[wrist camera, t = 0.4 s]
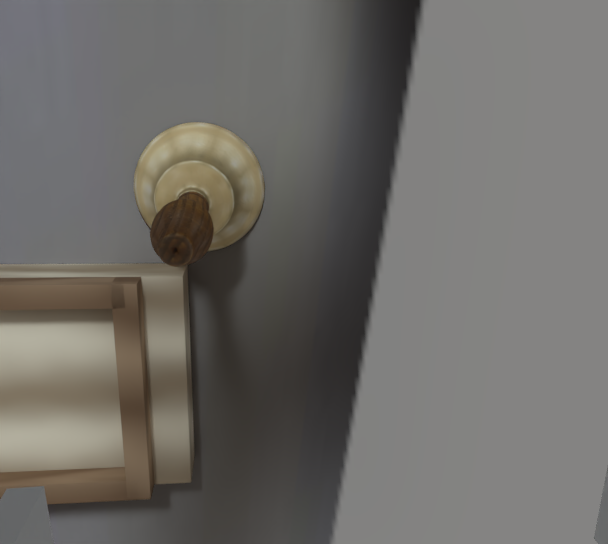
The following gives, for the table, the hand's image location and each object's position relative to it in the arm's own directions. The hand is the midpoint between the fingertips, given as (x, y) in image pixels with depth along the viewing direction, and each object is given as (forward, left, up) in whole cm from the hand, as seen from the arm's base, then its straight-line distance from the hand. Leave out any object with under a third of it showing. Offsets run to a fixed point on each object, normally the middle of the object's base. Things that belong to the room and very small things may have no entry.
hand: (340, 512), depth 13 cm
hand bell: (-4, -5, -26) cm, 27 cm away
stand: (+9, -16, -26) cm, 31 cm away
